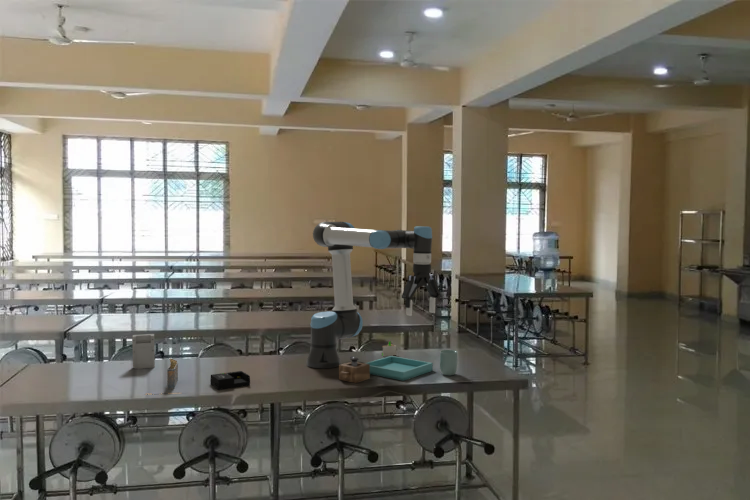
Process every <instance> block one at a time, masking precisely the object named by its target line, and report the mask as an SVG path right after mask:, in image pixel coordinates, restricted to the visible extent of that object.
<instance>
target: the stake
mask: <svg viewBox="0 0 750 500" xmlns="http://www.w3.org/2000/svg"><path fill="white" fill-rule="evenodd" d="M359 358H360V357H359V356H350V358H349V359H350V361H351V362H352V364H351V366H355V367H356V366H357V362H358V361H359Z"/></svg>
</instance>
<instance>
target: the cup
mask: <svg viewBox="0 0 750 500" xmlns="http://www.w3.org/2000/svg"><path fill="white" fill-rule="evenodd" d="M458 365H459V352H458V350H456V349H455V350H454V349H442V350H439V369H440V373H441V374H442V375H444V376H451V377H452V376H454V375H456V374H457V372H458Z"/></svg>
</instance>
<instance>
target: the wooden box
mask: <svg viewBox="0 0 750 500" xmlns="http://www.w3.org/2000/svg"><path fill="white" fill-rule="evenodd" d="M365 363H366V362H359V361H357V366H356V367H355V366H351V364H352V361H349V362H345V363H340V365H339V366H338V380H339V381H340V380H341V381H344V382H349V383H355V384H357V383H360V382H364V381H366V380H367V381H368V380H370V375H371V374H370V364H365Z"/></svg>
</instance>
